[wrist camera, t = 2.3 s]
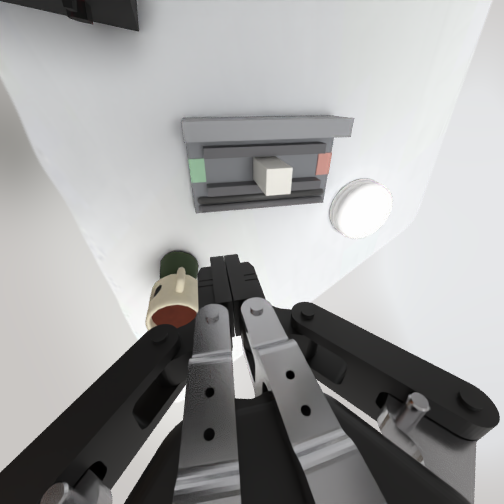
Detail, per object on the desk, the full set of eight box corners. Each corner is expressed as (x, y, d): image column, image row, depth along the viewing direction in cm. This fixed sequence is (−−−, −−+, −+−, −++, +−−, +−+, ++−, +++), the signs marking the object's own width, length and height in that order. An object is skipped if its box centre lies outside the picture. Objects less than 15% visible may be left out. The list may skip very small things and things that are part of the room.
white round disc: (367, 165, 39) (381, 170, 36) (388, 205, 44) (402, 213, 41) (318, 206, 41) (328, 215, 38) (343, 240, 46) (354, 250, 43)
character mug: (160, 233, 37) (147, 288, 27) (205, 239, 39) (210, 292, 29) (155, 287, 42) (143, 350, 32) (195, 290, 45) (197, 350, 34)
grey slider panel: (182, 118, 30) (181, 121, 25) (330, 115, 33) (354, 118, 28) (195, 208, 36) (196, 225, 31) (317, 198, 40) (335, 212, 35)
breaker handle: (253, 156, 32) (266, 169, 26) (274, 155, 32) (292, 167, 26) (253, 179, 33) (266, 195, 28) (273, 177, 34) (290, 194, 28)
